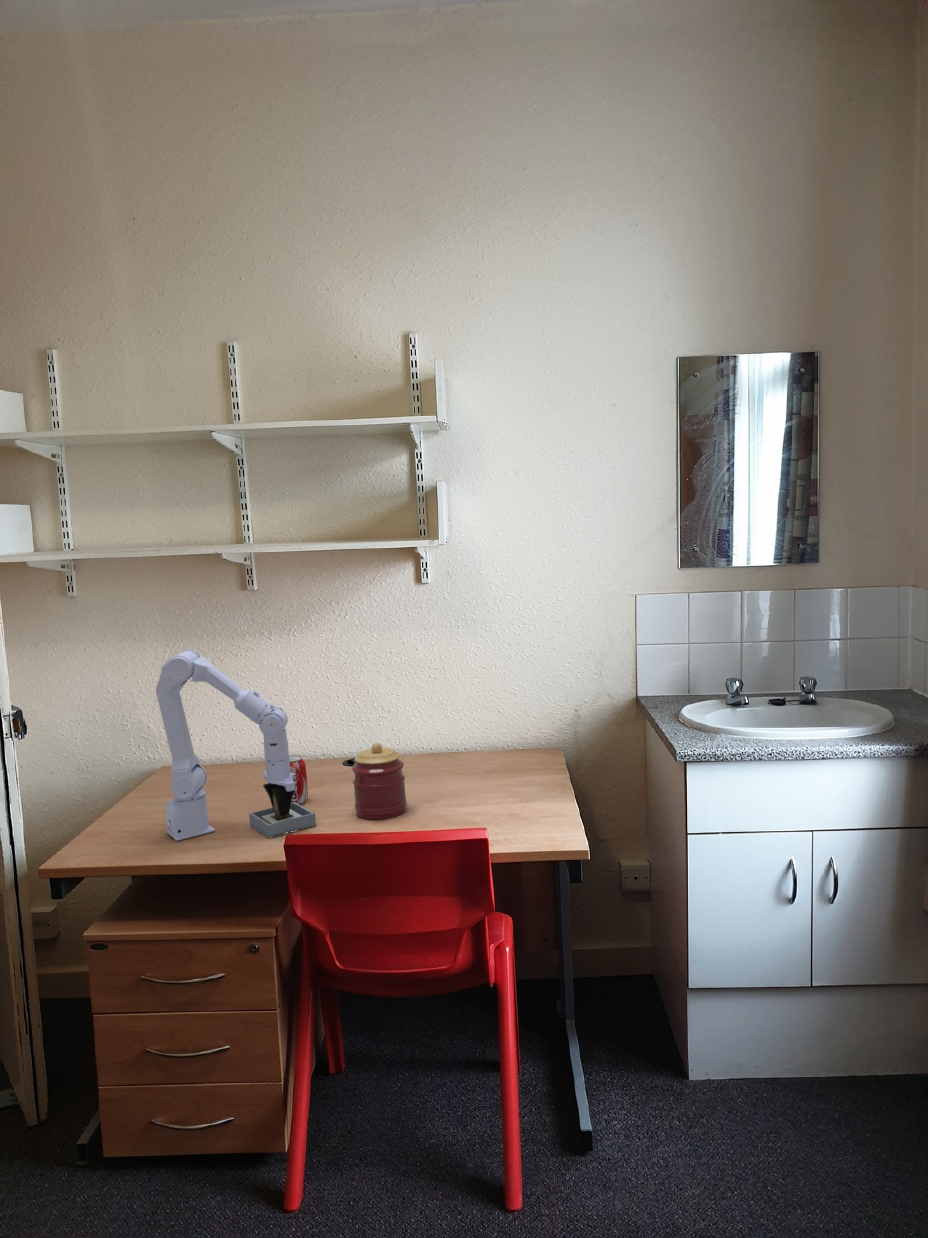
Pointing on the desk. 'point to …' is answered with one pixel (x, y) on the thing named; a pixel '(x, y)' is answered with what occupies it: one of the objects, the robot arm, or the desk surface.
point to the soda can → (299, 779)
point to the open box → (282, 821)
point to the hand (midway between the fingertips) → (281, 813)
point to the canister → (379, 783)
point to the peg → (277, 811)
